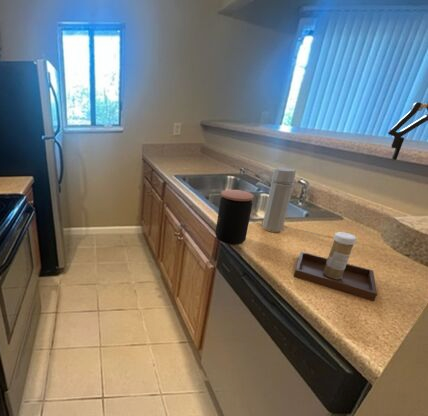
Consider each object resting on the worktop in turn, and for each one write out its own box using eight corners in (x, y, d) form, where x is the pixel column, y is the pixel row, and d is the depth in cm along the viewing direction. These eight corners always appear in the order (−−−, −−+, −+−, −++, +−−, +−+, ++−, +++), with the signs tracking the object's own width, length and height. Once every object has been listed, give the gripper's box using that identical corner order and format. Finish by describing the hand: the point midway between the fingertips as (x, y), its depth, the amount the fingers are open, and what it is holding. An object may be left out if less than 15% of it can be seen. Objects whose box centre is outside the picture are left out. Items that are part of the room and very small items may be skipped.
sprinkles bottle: (324, 269, 84) (337, 230, 79) (343, 275, 81) (358, 235, 76) (321, 275, 81) (334, 235, 76) (340, 282, 78) (355, 240, 73)
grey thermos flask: (262, 223, 117) (274, 166, 108) (284, 228, 112) (298, 168, 103) (258, 231, 110) (271, 170, 101) (281, 236, 106) (297, 173, 97)
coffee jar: (224, 230, 112) (231, 187, 105) (250, 239, 104) (259, 194, 97) (209, 237, 106) (215, 193, 100) (235, 248, 98) (244, 200, 91)
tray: (370, 277, 81) (373, 270, 80) (374, 301, 71) (377, 294, 70) (299, 257, 91) (300, 251, 91) (293, 276, 82) (295, 269, 81)
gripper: (532, 80, 68) (489, 164, 76) (391, 85, 83) (368, 155, 91) (548, 79, 63) (500, 169, 71) (395, 84, 78) (369, 158, 86)
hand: (426, 161), depth 81 cm, fingers open, 13 cm apart
